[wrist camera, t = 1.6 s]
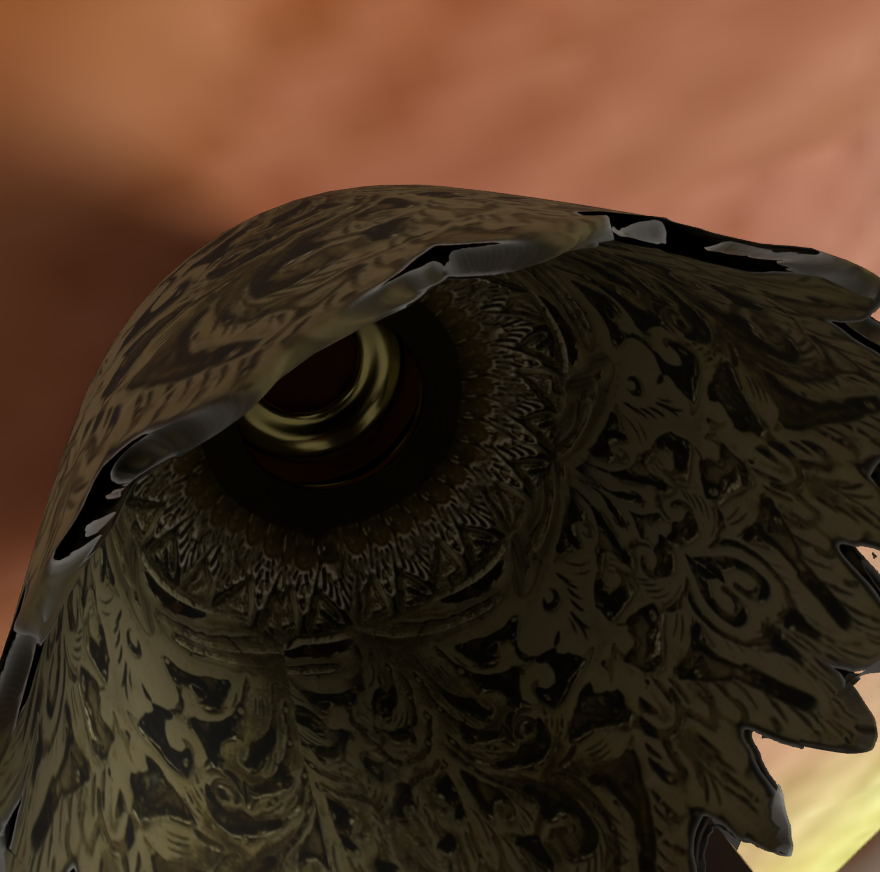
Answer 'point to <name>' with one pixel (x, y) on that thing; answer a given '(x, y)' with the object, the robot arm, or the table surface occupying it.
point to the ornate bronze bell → (451, 550)
